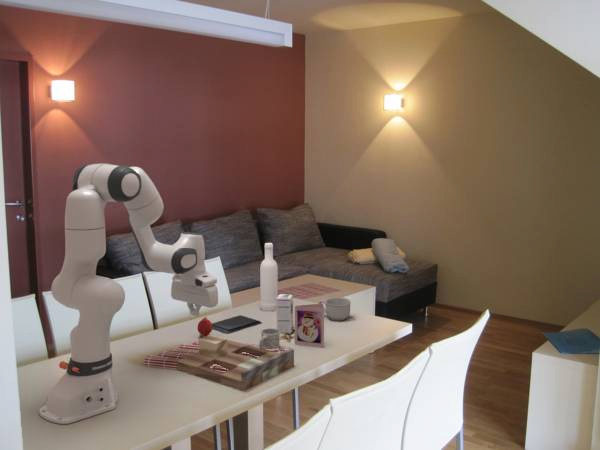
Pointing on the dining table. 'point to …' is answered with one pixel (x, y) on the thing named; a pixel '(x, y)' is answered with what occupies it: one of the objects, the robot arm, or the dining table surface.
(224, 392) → the dining table surface
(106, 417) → the dining table surface
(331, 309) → the teacup
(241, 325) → the wallet
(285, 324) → the syrup box
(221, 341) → the birch block
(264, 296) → the bottle
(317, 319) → the greeting card
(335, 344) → the dining table surface
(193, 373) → the board
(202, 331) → the onion
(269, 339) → the mug
